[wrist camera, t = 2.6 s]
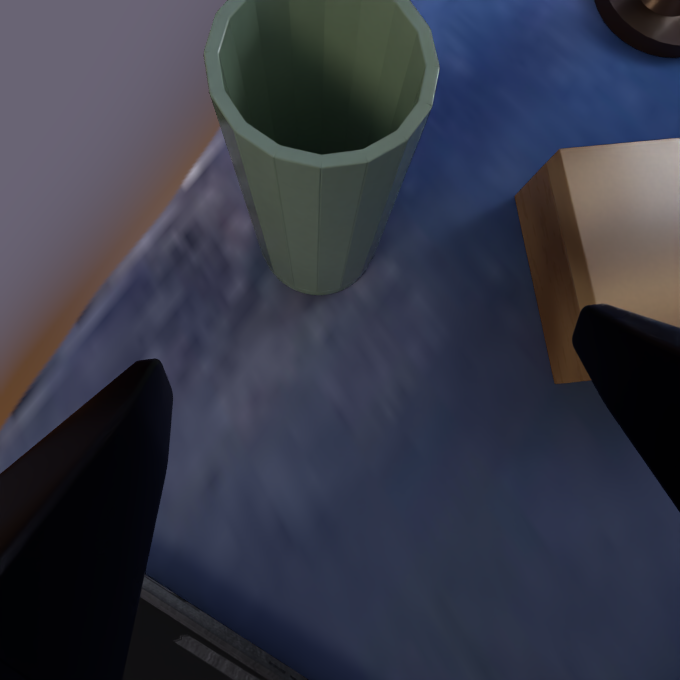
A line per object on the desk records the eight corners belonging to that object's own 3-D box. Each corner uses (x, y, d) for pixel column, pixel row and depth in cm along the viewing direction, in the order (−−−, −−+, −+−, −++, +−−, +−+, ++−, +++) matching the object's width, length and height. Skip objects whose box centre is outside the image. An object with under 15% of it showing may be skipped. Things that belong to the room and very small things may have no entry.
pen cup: (361, 306, 23) (415, 190, 11) (249, 281, 23) (176, 135, 11) (383, 203, 24) (455, -9, 12) (276, 178, 24) (238, -63, 12)
